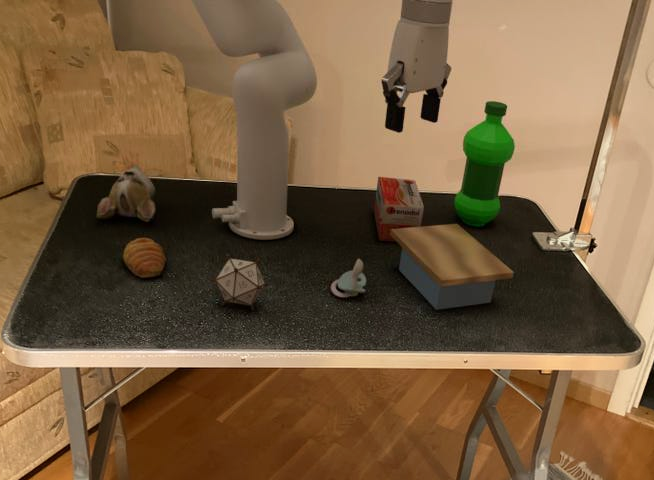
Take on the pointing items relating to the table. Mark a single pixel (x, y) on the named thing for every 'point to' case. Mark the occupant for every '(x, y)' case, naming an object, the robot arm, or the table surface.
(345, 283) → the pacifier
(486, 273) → the board
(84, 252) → the table surface
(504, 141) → the plastic bottle
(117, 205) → the ceramic sculpture
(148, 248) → the pastry
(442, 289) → the blue box
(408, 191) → the medicine box
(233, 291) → the game die
